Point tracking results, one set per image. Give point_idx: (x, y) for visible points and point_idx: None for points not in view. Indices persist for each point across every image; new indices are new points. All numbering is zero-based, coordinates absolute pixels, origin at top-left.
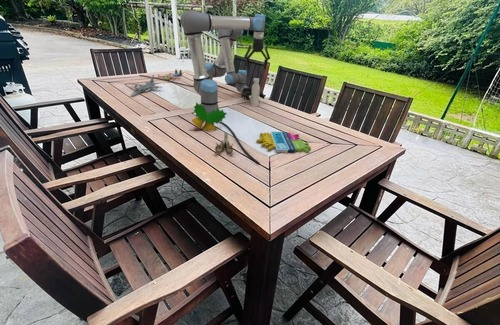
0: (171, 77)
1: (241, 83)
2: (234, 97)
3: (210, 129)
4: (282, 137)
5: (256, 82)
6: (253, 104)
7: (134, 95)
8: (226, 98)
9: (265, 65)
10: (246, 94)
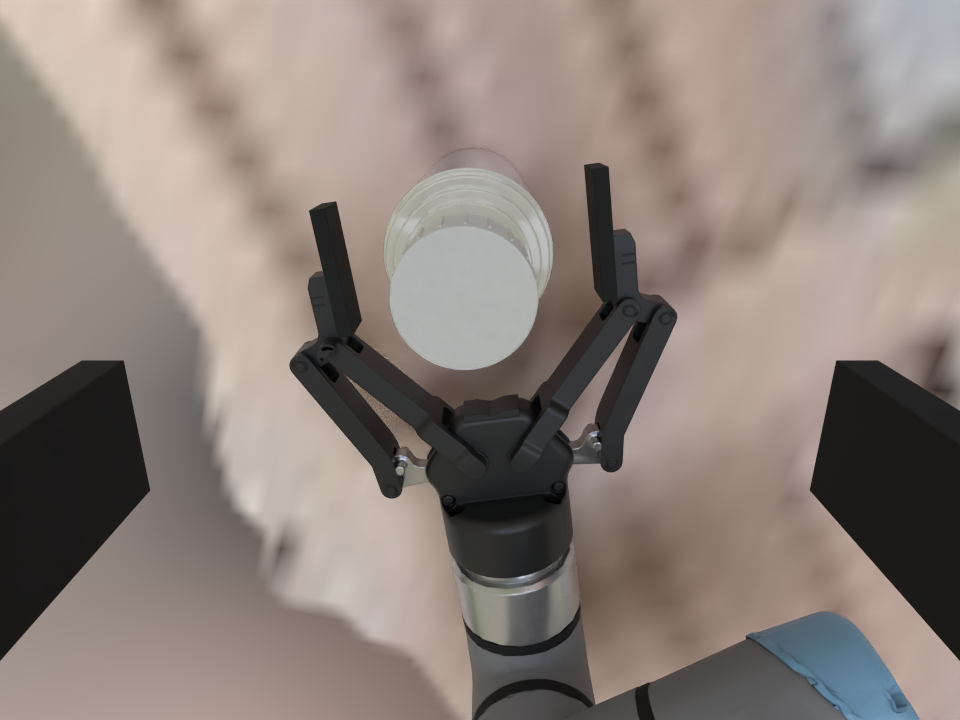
0: None
1: (563, 691)
2: (635, 535)
3: None
4: None
5: None
6: (506, 160)
7: None
8: (748, 504)
9: (7, 425)
10: (571, 362)
